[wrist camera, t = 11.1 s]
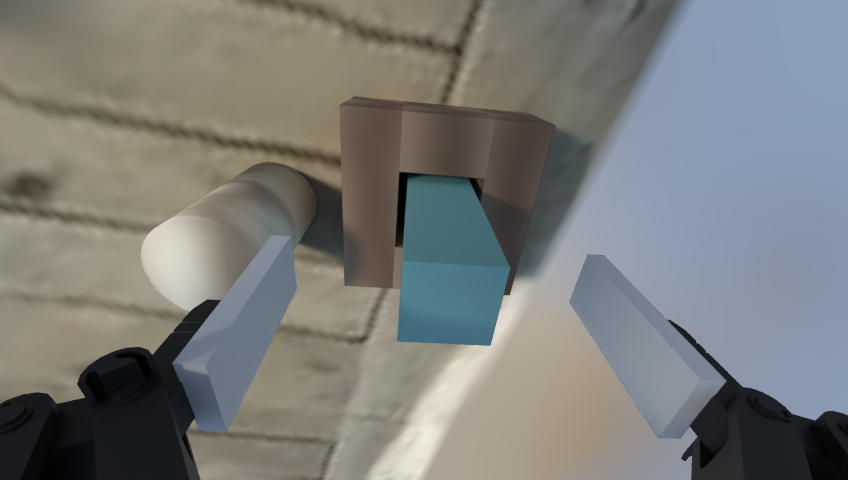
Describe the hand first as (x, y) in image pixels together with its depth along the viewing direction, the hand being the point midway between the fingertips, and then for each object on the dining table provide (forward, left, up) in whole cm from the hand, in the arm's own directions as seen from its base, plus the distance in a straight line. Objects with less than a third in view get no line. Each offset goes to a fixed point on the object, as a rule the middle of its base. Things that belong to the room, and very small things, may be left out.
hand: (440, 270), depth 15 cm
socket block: (0, 0, -12) cm, 12 cm away
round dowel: (-12, -2, -12) cm, 17 cm away
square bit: (0, 0, -12) cm, 12 cm away
